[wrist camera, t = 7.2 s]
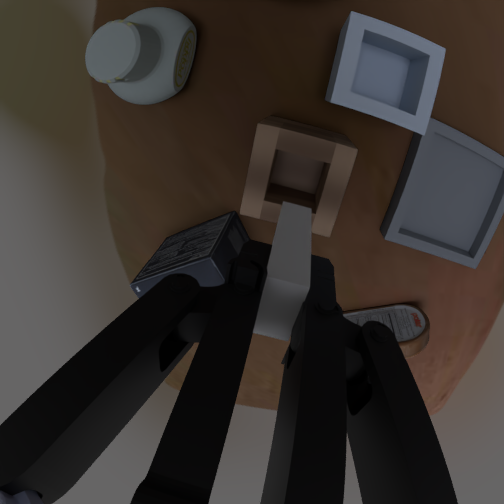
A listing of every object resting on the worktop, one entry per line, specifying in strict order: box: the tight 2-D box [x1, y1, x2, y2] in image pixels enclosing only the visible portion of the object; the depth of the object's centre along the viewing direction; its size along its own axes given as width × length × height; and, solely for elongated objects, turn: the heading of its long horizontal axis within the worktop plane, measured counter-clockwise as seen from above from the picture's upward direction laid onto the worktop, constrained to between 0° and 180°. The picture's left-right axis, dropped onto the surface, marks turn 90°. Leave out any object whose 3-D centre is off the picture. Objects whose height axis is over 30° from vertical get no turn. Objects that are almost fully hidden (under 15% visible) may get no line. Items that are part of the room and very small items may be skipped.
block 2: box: [325, 11, 446, 136], centre depth 21 cm, size 8×8×8 cm
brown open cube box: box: [240, 116, 358, 237], centre depth 27 cm, size 8×8×8 cm
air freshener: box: [85, 7, 197, 105], centre depth 22 cm, size 11×8×10 cm
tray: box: [380, 117, 504, 269], centre depth 27 cm, size 14×14×2 cm
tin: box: [343, 304, 430, 359], centre depth 35 cm, size 15×3×8 cm, turn 106°
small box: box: [130, 211, 250, 298], centre depth 33 cm, size 11×6×10 cm, turn 116°
